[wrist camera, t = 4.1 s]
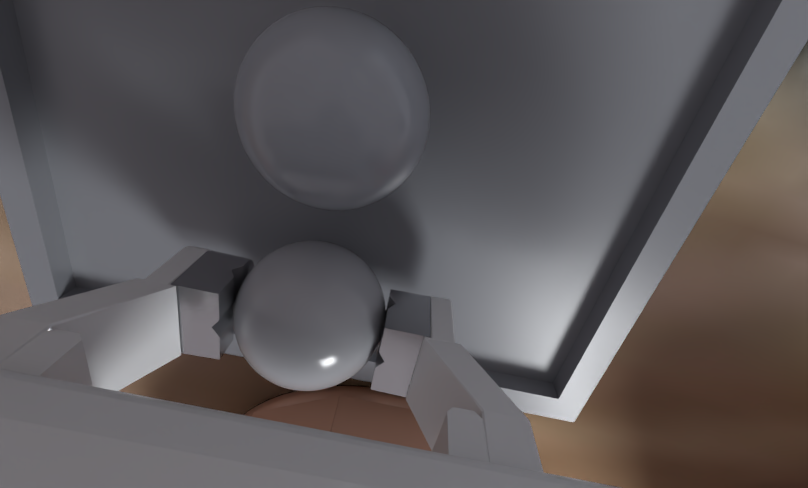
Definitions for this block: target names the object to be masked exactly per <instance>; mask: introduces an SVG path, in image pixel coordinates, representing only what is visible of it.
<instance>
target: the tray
mask: <svg viewBox="0 0 808 488" xmlns="http://www.w3.org/2000/svg"><path fill="white" fill-rule="evenodd" d="M315 6H337V7H343V8H349V9H352V10H356V11H359V12H362V13H364V14H366V15H368V16H371V17H373V18H375V19H376V20H378V21H379V22H381V23H382V24H384V25H385V26H387V27H388V28H389V29H390V30H392V31H393V32H394V33H395V34H396V35H397V36H398V37H399V38H400V39H401V40H402V41H403V42H404V43H405V45H406V46H407V47H408V48H409V50H410V51H411V53H412V54H413V56H414V57H415V59H416V61H417V63H418V65H419V67H420V69H421V71H422V73H423V76H424V79H425V82H426V85H427V89H428V94H429V98H430V109H431V117H430V129H429V135H428V139H427V142H426V146H425V149H424V152H423V154H422V156H421V158H420V161H419V163H418V164H417V166H416V168H415V169H414V171H413V172H412V174H411V175H410V176H409V177H408V179H407V180H406V181H405V182H404V183H403V184H402V185H401V186H400V187H399V188H398V189H397V190H395V191H394V192H393V193H391V194H390V195H389V196H387V197H386V198H384V199H382V200H380V201H378V202H376V203H374V204H371V205H369V206H366V207H362V208H358V209H353V210H346V211H328V210H321V209H316V208H313V207H309V206H306V205H303V204H301V203H299V202H296V201H294V200H292V199H290V198H288V197H287V196H285V195H283V194H282V193H280V192H279V191H278V190H276V189H275V188H274V187H273V186H271V185H270V184H269V183H268V182H267V181H266V180H265V179H264V178H263V177H262V176H261V175H260V174H259V173H258V171H257V170H256V168H255V167H254V166H253V164H252V163H251V161H250V160H249V158H248V156H247V154H246V153H245V151H244V148H243V146H242V144H241V141H240V138H239V135H238V132H237V128H236V123H235V118H234V107H233V96H234V86H235V81H236V76H237V73H238V70H239V67H240V64H241V62H242V60H243V58H244V56H245V54H246V52H247V51H248V49H249V47H250V46H251V44H252V43H253V42H254V40H255V39H256V38H257V37H258V36H259V35H260V34H261V33H262V32H263V31H264V30H265V29H266V28H267V27H268V26H269V25H271V24H272V23H274V22H275V21H276V20H278V19H280V18H282V17H284V16H286V15H287V14H289V13H291V12H294V11H297V10H300V9H304V8H309V7H315ZM807 40H808V0H0V196H1V199H2V203H3V206H4V210H5V213H6V216H7V220H8V223H9V227H10V230H11V234H12V237H13V241H14V244H15V247H16V251H17V254H18V258H19V261H20V265H21V268H22V271H23V275H24V278H25V282H26V285H27V289H28V292H29V296H30V299H31V302H32V306H35V305H39V304H43V303H47V302H50V301H54V300H58V299H62V298H65V297H69V296H73V295H76V294H80V293H84V292H88V291H91V290H95V289H99V288H103V287H106V286H110V285H114V284H118V283H121V282H125V281H129V280H132V279H136V278H139V279H146V278H147V277H148V276H149V275H151V274H152V273H153V272H154V271H156V270H157V269H158V268H159V267H161V266H162V265H163V264H164V263H166V262H167V261H168V260H169V259H171V258H172V257H173V256H174V255H176V254H177V253H178V252H179V251H181V250H182V249H183V248H184V247H186V246H194V247H199V248H204V249H209V250H213V251H217V252H222V253H226V254H230V255H235V256H239V257H243V258H248V259H252V261H253V263H254V266H255V265H256V264H257V263H258V262H259V261H260V260H261V259H262V258H264V257H265V256H266V255H268V254H269V253H271V252H272V251H274V250H276V249H278V248H280V247H282V246H285V245H288V244H291V243H294V242H299V241H308V240H316V241H326V242H331V243H335V244H338V245H340V246H343V247H345V248H347V249H349V250H351V251H352V252H354V253H355V254H357V255H358V256H359V257H360V258H361V259H363V260H364V261H365V262H366V263H367V265H368V266H369V267H370V268H371V269H372V271H373V272H374V274H375V275H376V277H377V279H378V281H379V283H380V285H381V288H382V291H383V294H384V300H385V306H386V307H387V302H388V297H389V293H390V289H393V290H399V291H404V292H409V293H415V294H420V295H425V296H432V297H438V298H444V299H449V300H450V301H451V304H452V315H453V326H454V337H455V343H458V344H461V345H462V346H463V347H464V348H465V349H466V350H467V352H468V353H469V354H470V355H471V356H472V357H473V358H474V359H475V360H476V362H477V363H478V364H479V365H480V366H481V367H482V368H483V369H484V370H485V372H486V373H487V374H488V375H489V376H490V377H491V378H492V379H493V380H494V382H495V383H496V384H497V385H498V386H499V387H500V388H501V389H502V391H503V392H504V393H505V394H506V395H507V396H508V397H509V398H510V399H511V401H512V402H513V403H514V404H515V405H516V406H517V407H518V408H519V409H520V411H521V412H524V413H529V414H534V415H540V416H545V417H550V418H555V419H560V420H565V421H570V422H574V421H575V420H576V418H577V416H578V415H579V413H580V412H581V410H582V408H583V407H584V405H585V403H586V402H587V400H588V398H589V397H590V395H591V394H592V392H593V390H594V389H595V387H596V385H597V384H598V382H599V380H600V379H601V377H602V376H603V374H604V372H605V371H606V369H607V367H608V366H609V364H610V363H611V361H612V359H613V358H614V356H615V354H616V353H617V351H618V349H619V348H620V346H621V345H622V343H623V341H624V340H625V338H626V336H627V335H628V333H629V331H630V330H631V328H632V327H633V325H634V323H635V322H636V320H637V318H638V317H639V315H640V313H641V312H642V310H643V309H644V307H645V305H646V304H647V302H648V300H649V299H650V297H651V295H652V294H653V292H654V291H655V289H656V287H657V286H658V284H659V282H660V281H661V279H662V277H663V276H664V274H665V273H666V271H667V269H668V268H669V266H670V264H671V263H672V261H673V259H674V258H675V256H676V255H677V253H678V251H679V250H680V248H681V246H682V245H683V243H684V241H685V240H686V238H687V237H688V235H689V233H690V232H691V230H692V228H693V227H694V225H695V223H696V222H697V220H698V219H699V217H700V215H701V214H702V212H703V210H704V209H705V207H706V205H707V204H708V202H709V201H710V199H711V197H712V196H713V194H714V192H715V191H716V189H717V187H718V186H719V184H720V183H721V181H722V179H723V178H724V176H725V174H726V173H727V171H728V169H729V168H730V166H731V165H732V163H733V161H734V160H735V158H736V156H737V155H738V153H739V151H740V150H741V148H742V147H743V145H744V143H745V142H746V140H747V138H748V137H749V135H750V133H751V132H752V130H753V129H754V127H755V125H756V124H757V122H758V120H759V119H760V117H761V115H762V114H763V112H764V111H765V109H766V107H767V106H768V104H769V102H770V101H771V99H772V97H773V96H774V94H775V93H776V91H777V89H778V88H779V86H780V84H781V83H782V81H783V79H784V78H785V76H786V75H787V73H788V71H789V70H790V68H791V66H792V65H793V63H794V61H795V60H796V58H797V57H798V55H799V53H800V52H801V50H802V48H803V47H804V45H805V43H806V42H807ZM377 348H378V347H377ZM225 353H226V354H231V355H236V356H241V357H244V356H243V354H242V353H241V351H240V349H239V346H238V343H237V340H236V337H235V333H234V336H233V341H232V342H231V344H230V345H229V347H228V348H227V350H226V351H225ZM376 353H377V349H376V351H375V353H374V354H373V355H372V357H371V358H370V359H369V361H368V362H367V364H366V365H365V366H364V367H363V368H362V369H361V370H359V371H358V372H357V373H356V374H355V375H353V376H352V377H351V378H352V379H357V380H362V381H367V382H372V377H373V371H374V365H375V361H376V357H377V354H376Z"/></svg>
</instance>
